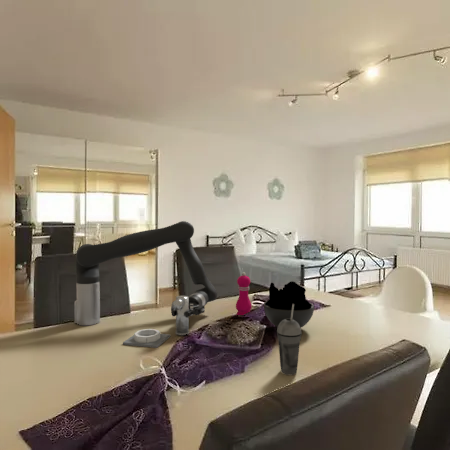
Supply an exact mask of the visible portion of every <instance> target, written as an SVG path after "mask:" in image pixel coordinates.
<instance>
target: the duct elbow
mask: <svg viewBox="0 0 450 450" xmlns="http://www.w3.org/2000/svg"><path fill="white" fill-rule="evenodd" d="M171 306H172V308H173V309H174V310H176V316H175V335H177V336H187V335H189V334H190V331H189V329H190V328H189V321H190V319H189V318H190V316H189V317H188V318H187V317H186V311H188V310H189V296H188V295H177V296H175V300H174V301H172V303H171ZM186 334H187V335H186Z"/></svg>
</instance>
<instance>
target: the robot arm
mask: <svg viewBox="0 0 450 450" xmlns="http://www.w3.org/2000/svg"><path fill="white" fill-rule="evenodd" d="M194 234H195V228H194V226H193V224H191V222H189V221H186V220H183V221H182V220H181V221H179V222H176V223H174V224H170V225H169V226H168V225H167V226H165V227H162V228H155V229H154V228H153V229H149V230H146V229H145V230H142V231H137V232H133V233H129V234H125V235H123V236H121V237H119V238H115V239H114V240H111V241H107V242H103V243H98V244H97V243H96V244H91V243H84V244H82V245H80V246H78V249H77V250H76V252H75V278H76V279H75V281H76V285H75V286H76V300H74V324H75V323H77V325H78V324H79V325H78V326H93V325H96V323H97V324H99V323H100V322H101V299H100V298H101V293H100V291H101V288H100V276H101V275H100V264H102V263H105V262H107V261H110V260H113V259H117V258H123V257H129V256H134V255H138V254H143V253H146V252H149V251H152V250H154V249H157V248H159V247H161V246H164V245H167V244H173V243H175V244H176V245H177V247H178V250H179V251H180V253H181V255H182V257H183V260H184V263H185V265H186V268H187V270H188V273H189V277H190V279H191V281H192V284H193V285H195V286H196V285H203V286H204V287H202V288H199V289H196V290H195V291H194V293H192V294H190V295H189V296H188V297H189V310H188V311H186V317H187V318H188V317H189V318H190V317H191V316H199V315H202V314H203V313H205V312H206V311H205V308H206V307H205V306H206V305H208V303H210V302H214V301H215V300H217V298H218V292H217V289H216V287H215V286H214V284H212V282H211V280H210V279H209V278H208V276H207V274H206V270H205V268H204V265H203V263H202V261H201V259H200V258H199V256H198V254H197V253H196V251H195V249H194V246H193V244H192V241H191V238H192V237H193V236H194ZM170 314H171V316H172V317H176V310H174V309H173V308H172V305H171V307H170Z"/></svg>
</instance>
